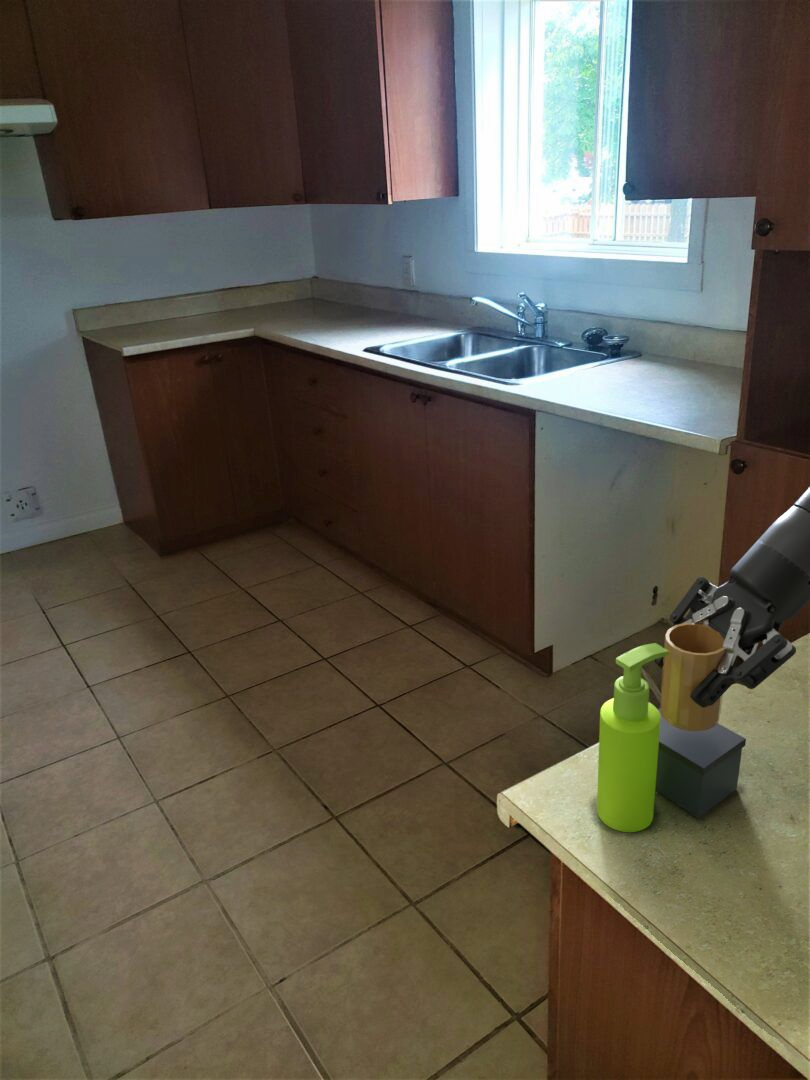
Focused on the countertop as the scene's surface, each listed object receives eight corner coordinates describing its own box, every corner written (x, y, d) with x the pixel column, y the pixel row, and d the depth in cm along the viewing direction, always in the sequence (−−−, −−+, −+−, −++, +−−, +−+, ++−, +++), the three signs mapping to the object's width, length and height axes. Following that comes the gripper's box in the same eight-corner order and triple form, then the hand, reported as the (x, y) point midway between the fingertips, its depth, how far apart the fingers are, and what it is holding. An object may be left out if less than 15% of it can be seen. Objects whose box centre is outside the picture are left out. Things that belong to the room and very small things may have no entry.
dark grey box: (739, 789, 89) (746, 738, 86) (698, 820, 86) (704, 769, 83) (670, 747, 96) (674, 698, 93) (629, 774, 93) (632, 725, 90)
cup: (731, 714, 86) (740, 639, 82) (695, 739, 83) (703, 662, 79) (683, 689, 91) (690, 616, 87) (648, 711, 88) (653, 637, 84)
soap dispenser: (672, 813, 87) (686, 656, 78) (623, 840, 84) (632, 681, 76) (632, 781, 92) (641, 630, 83) (585, 806, 89) (589, 652, 80)
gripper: (726, 516, 87) (621, 633, 89) (823, 575, 74) (698, 710, 77) (763, 551, 90) (661, 663, 93) (862, 613, 78) (741, 741, 80)
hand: (678, 684), depth 85 cm, fingers closed on cup, 6 cm apart
